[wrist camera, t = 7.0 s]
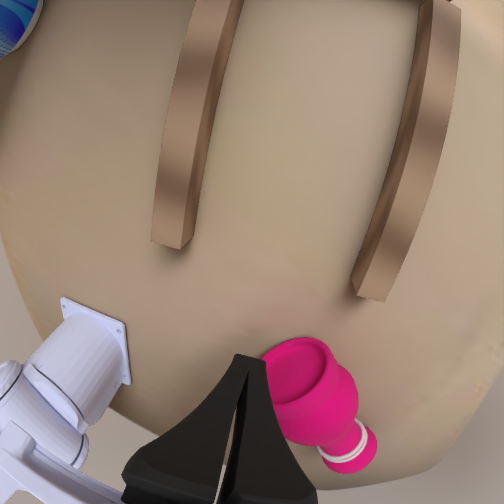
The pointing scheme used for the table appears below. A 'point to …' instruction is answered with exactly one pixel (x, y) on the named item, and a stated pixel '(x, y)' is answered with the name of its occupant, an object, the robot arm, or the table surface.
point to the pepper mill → (318, 404)
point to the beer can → (17, 22)
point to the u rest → (402, 161)
